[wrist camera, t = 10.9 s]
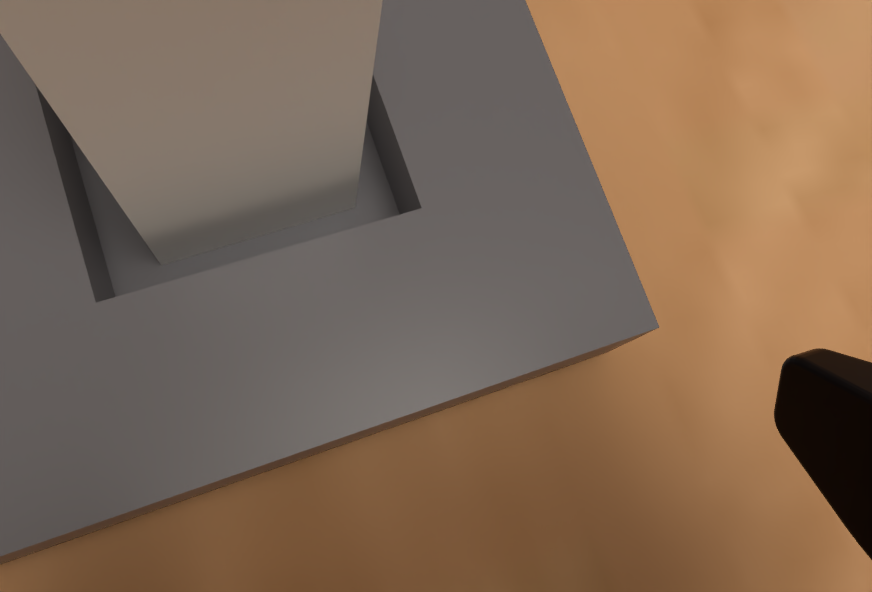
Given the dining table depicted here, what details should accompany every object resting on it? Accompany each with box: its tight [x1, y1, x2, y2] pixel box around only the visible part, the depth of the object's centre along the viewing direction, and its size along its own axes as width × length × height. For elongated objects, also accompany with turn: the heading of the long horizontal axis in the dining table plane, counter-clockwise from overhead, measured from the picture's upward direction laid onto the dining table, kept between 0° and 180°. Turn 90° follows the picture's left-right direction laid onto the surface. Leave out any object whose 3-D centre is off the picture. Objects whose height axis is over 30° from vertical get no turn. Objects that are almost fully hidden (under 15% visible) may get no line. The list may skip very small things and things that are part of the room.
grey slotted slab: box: [0, 0, 659, 564], centre depth 17 cm, size 14×14×4 cm
